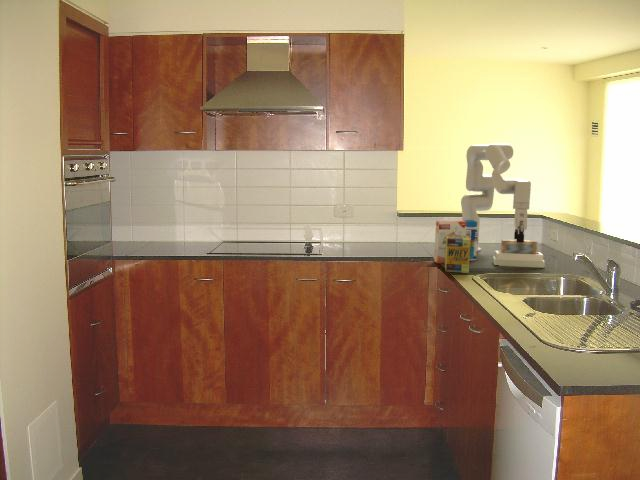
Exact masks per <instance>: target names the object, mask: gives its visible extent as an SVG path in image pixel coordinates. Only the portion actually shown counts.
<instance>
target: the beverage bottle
mask: <svg viewBox="0 0 640 480" xmlns="http://www.w3.org/2000/svg"><path fill="white" fill-rule="evenodd" d="M464 221H465V222H467V223H466V236H469V238H470V261H477V260H478V251H477V247H479V244H478V237H477V236H478V232H477V230H476V227H477V221H475V220H464ZM470 261H469V262H470Z"/></svg>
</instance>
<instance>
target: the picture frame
mask: <svg viewBox="0 0 640 480" xmlns="http://www.w3.org/2000/svg"><path fill="white" fill-rule="evenodd" d="M537 248H538V241H537V240H531V239H530V240H529V239H524V242H523V243H521V242H517V239H501V246H500V251H501V253H513V254H536V253H537V251H538V250H537Z"/></svg>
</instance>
